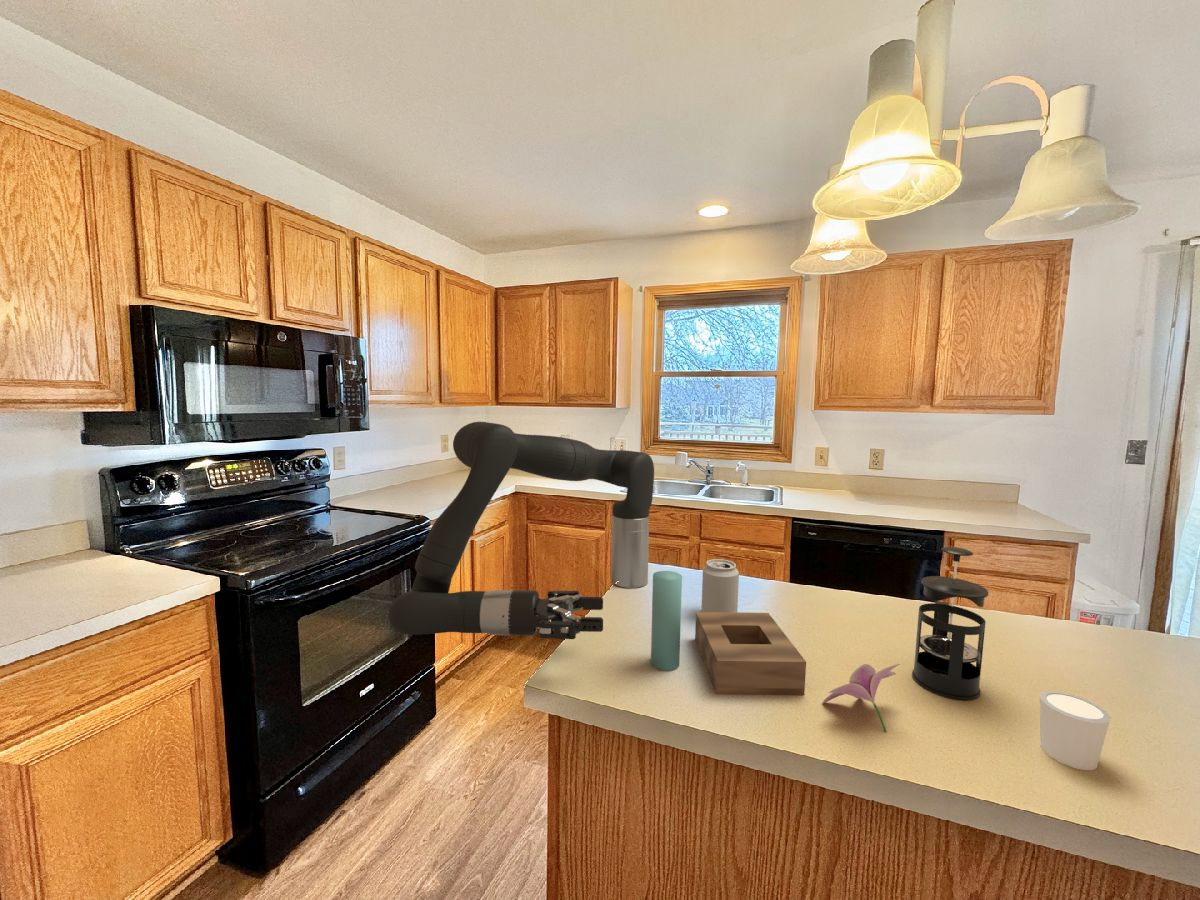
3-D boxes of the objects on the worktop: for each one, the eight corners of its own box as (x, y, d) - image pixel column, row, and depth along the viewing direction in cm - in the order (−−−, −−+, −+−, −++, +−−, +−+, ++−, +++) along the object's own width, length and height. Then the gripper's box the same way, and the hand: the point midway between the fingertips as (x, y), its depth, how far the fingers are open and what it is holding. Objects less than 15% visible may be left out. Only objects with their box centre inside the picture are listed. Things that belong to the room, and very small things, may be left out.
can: (741, 625, 104) (743, 569, 103) (704, 624, 104) (706, 568, 103) (732, 610, 112) (734, 557, 110) (698, 609, 112) (700, 556, 110)
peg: (649, 655, 91) (651, 570, 90) (677, 656, 91) (679, 570, 90) (652, 670, 87) (654, 580, 85) (681, 671, 87) (684, 581, 85)
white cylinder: (1024, 733, 71) (1029, 686, 71) (1083, 743, 70) (1089, 695, 69) (1051, 767, 65) (1057, 716, 64) (1118, 779, 63) (1125, 726, 62)
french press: (990, 708, 77) (1005, 563, 74) (919, 695, 80) (931, 555, 78) (967, 670, 88) (979, 541, 85) (905, 659, 91) (915, 535, 89)
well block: (695, 639, 98) (695, 611, 97) (767, 639, 98) (768, 612, 97) (716, 693, 80) (717, 660, 79) (804, 694, 80) (806, 661, 79)
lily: (907, 713, 77) (881, 647, 81) (940, 730, 66) (908, 654, 70) (829, 730, 79) (806, 665, 82) (848, 749, 68) (821, 674, 71)
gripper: (502, 608, 80) (603, 610, 80) (516, 576, 95) (603, 578, 95) (502, 653, 81) (603, 654, 81) (517, 615, 95) (602, 616, 95)
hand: (603, 613), depth 88 cm, fingers open, 8 cm apart
